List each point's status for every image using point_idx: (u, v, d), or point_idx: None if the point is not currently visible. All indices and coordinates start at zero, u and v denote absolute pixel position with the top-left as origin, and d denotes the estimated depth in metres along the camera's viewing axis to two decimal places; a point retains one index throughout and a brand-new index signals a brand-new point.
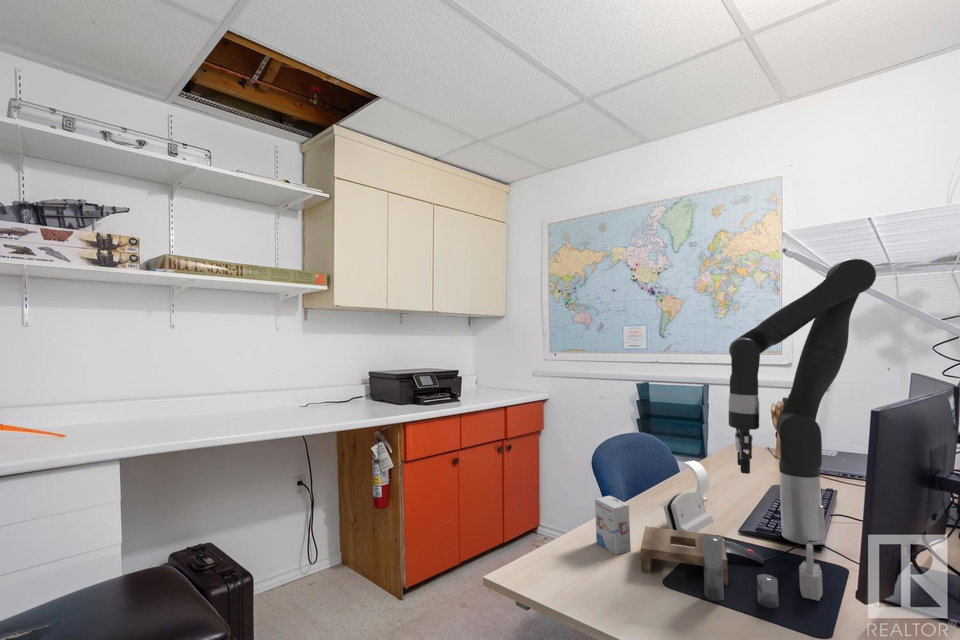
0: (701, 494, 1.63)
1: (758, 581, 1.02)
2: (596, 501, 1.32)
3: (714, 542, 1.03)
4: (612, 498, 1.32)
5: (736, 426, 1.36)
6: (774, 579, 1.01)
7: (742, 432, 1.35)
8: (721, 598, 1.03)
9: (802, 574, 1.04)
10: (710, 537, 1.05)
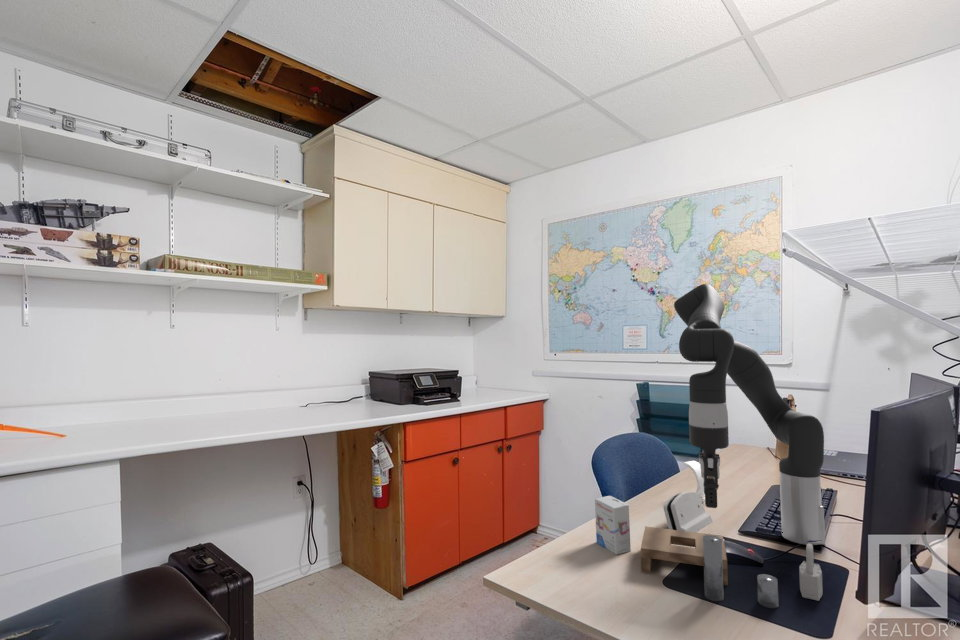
0: (701, 494, 1.63)
1: (758, 581, 1.02)
2: (596, 501, 1.32)
3: (714, 542, 1.03)
4: (612, 498, 1.32)
5: (698, 445, 1.03)
6: (774, 579, 1.01)
7: (706, 453, 1.02)
8: (721, 598, 1.03)
9: (802, 574, 1.04)
10: (710, 537, 1.05)
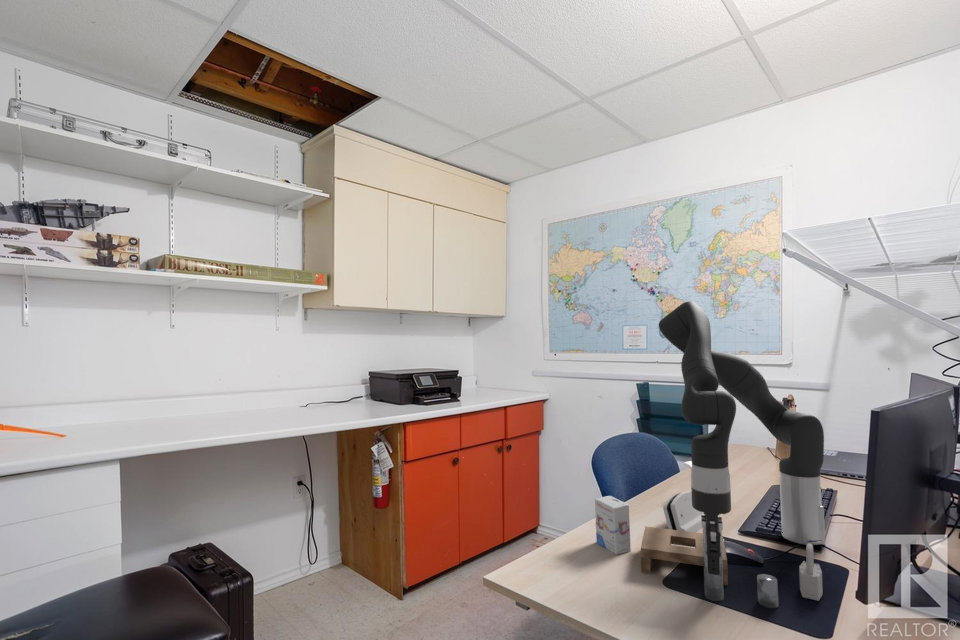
0: None
1: (758, 581, 1.02)
2: (596, 501, 1.32)
3: None
4: (612, 498, 1.32)
5: (701, 509, 1.03)
6: (774, 579, 1.01)
7: (708, 518, 1.02)
8: (721, 598, 1.03)
9: (802, 574, 1.04)
10: None
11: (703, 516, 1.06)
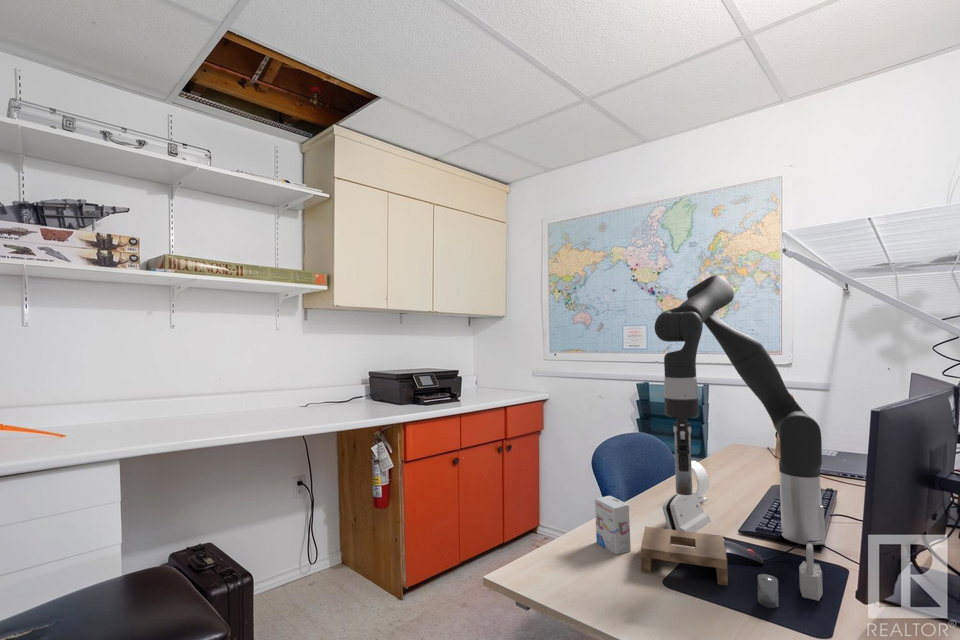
0: (701, 494, 1.63)
1: (759, 581, 1.02)
2: (596, 501, 1.32)
3: None
4: (612, 498, 1.32)
5: (672, 415, 1.17)
6: (774, 579, 1.01)
7: (679, 421, 1.16)
8: (690, 492, 1.17)
9: (802, 574, 1.04)
10: None
11: (675, 423, 1.20)
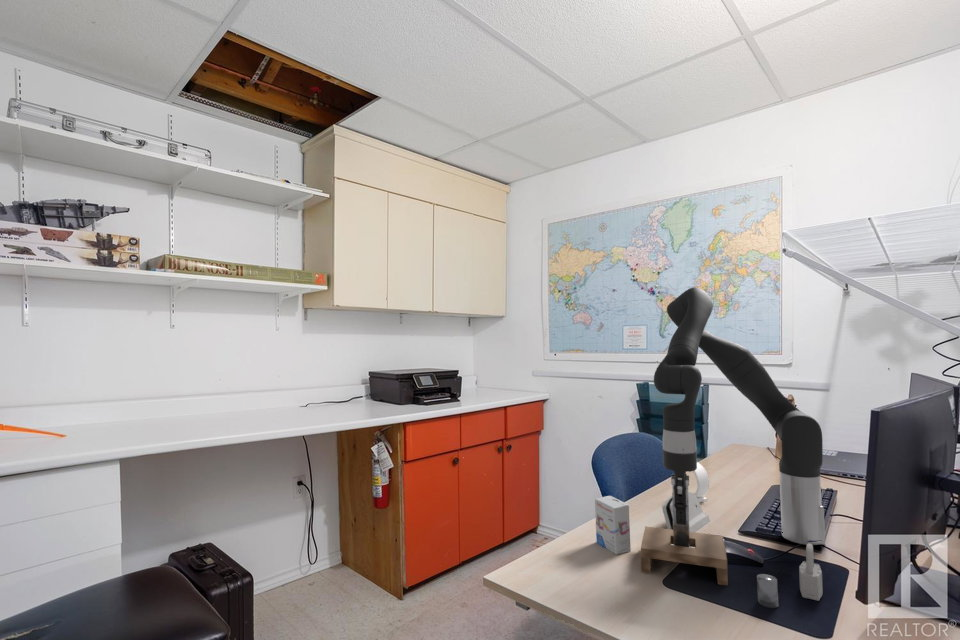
0: (701, 494, 1.63)
1: (758, 581, 1.02)
2: (596, 501, 1.32)
3: None
4: (612, 498, 1.32)
5: (670, 468, 1.18)
6: (773, 578, 1.01)
7: (676, 475, 1.16)
8: (687, 545, 1.17)
9: (802, 574, 1.04)
10: None
11: (673, 475, 1.21)
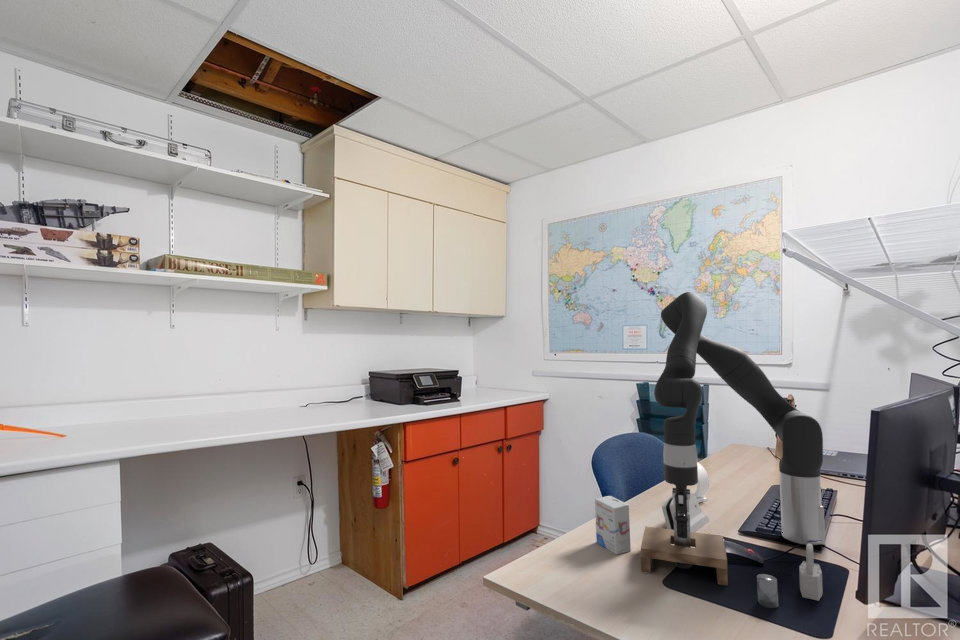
0: (701, 494, 1.63)
1: (758, 582, 1.02)
2: (596, 501, 1.32)
3: None
4: (612, 498, 1.32)
5: (671, 482, 1.17)
6: (773, 578, 1.01)
7: (677, 489, 1.16)
8: (689, 566, 1.17)
9: (802, 574, 1.04)
10: (680, 513, 1.20)
11: (674, 488, 1.21)
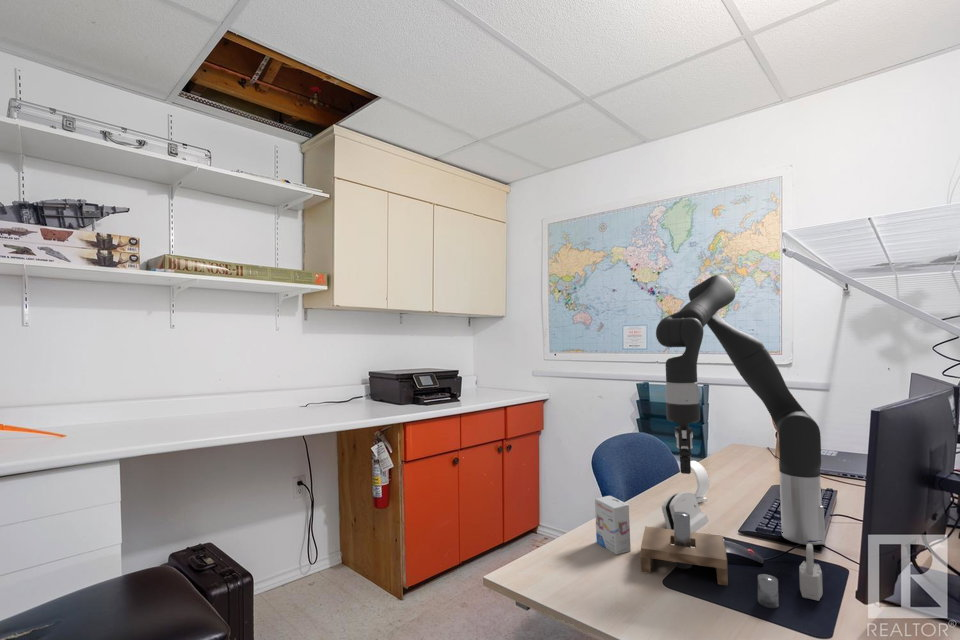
0: (701, 494, 1.63)
1: (759, 582, 1.01)
2: (596, 501, 1.32)
3: (683, 517, 1.17)
4: (612, 498, 1.32)
5: (674, 419, 1.18)
6: (774, 579, 1.01)
7: (680, 426, 1.17)
8: (689, 566, 1.17)
9: (802, 574, 1.04)
10: (680, 513, 1.20)
11: (676, 428, 1.22)
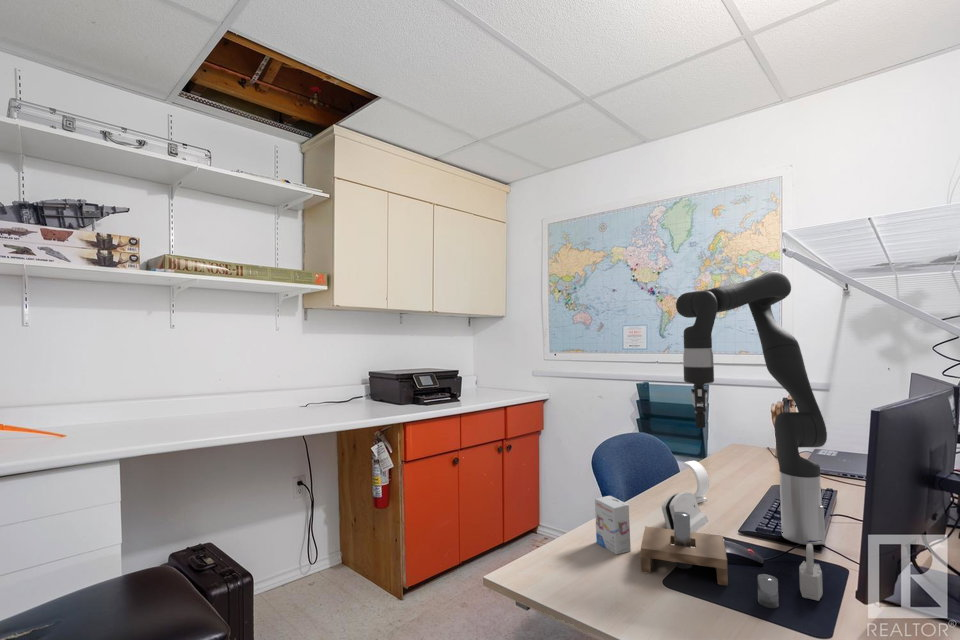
0: (701, 494, 1.63)
1: (759, 582, 1.01)
2: (596, 501, 1.32)
3: (683, 517, 1.17)
4: (612, 498, 1.32)
5: (690, 381, 1.34)
6: (774, 578, 1.01)
7: (696, 386, 1.32)
8: (689, 566, 1.17)
9: (802, 574, 1.04)
10: (680, 513, 1.20)
11: (692, 389, 1.37)
